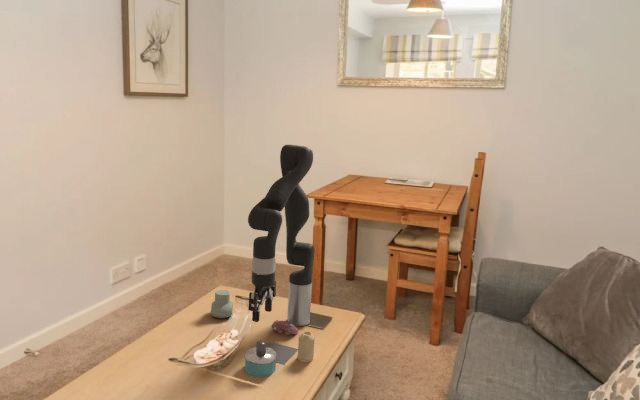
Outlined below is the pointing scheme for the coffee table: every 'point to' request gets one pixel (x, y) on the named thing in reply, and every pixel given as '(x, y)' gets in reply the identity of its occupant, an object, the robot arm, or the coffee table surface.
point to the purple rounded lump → (284, 327)
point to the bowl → (260, 368)
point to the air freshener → (222, 304)
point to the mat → (282, 352)
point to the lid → (260, 354)
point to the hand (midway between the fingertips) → (262, 316)
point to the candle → (306, 347)
